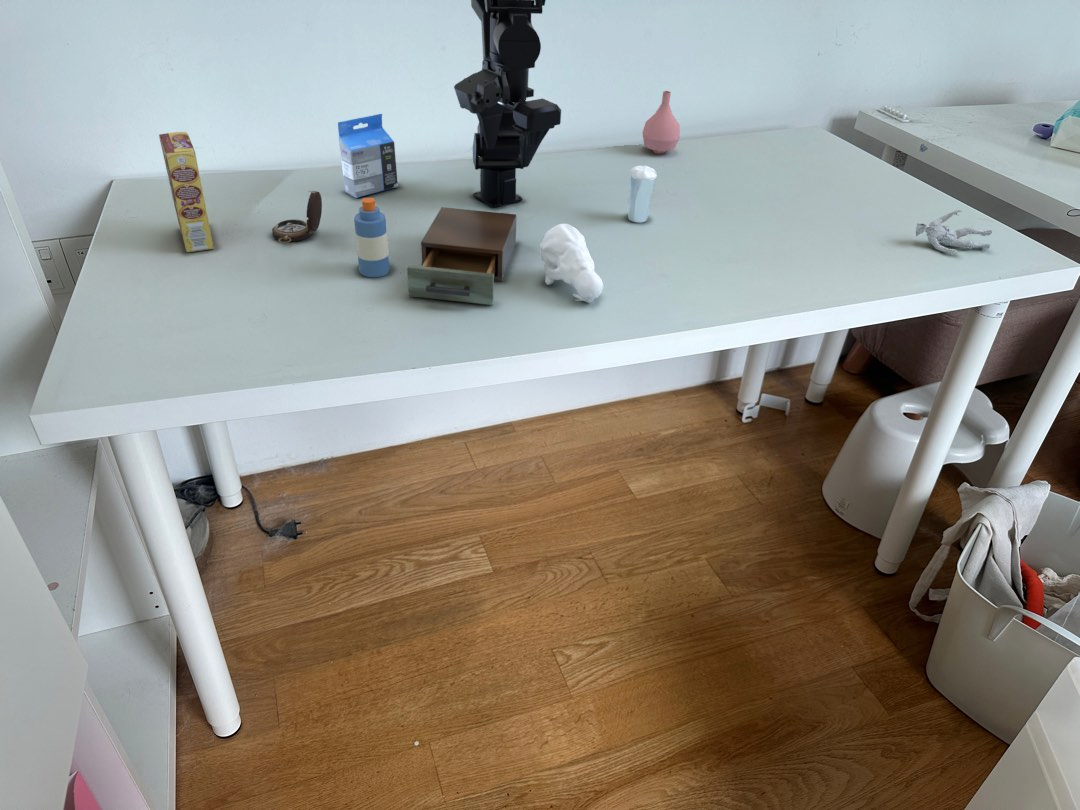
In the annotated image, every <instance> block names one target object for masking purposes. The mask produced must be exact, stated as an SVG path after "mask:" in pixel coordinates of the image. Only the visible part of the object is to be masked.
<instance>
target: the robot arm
mask: <svg viewBox="0 0 1080 810" xmlns="http://www.w3.org/2000/svg"><path fill="white" fill-rule="evenodd" d="M546 1H547V0H470V6H471V9H472V11H473V12H474V13H475V14H476V16H477V17H478V19H479V20H480V24H481V43H482V62H481V63H482V64H481V70H479V71H477V72H473V73H472V74H470V75H469V76H467V77H464V78H463V79H461V80H460V81H458V82H457V83H455V84H454V85H453V89H454V91H455V95H456V98H457V101H458V104H459V107H460V109H465V110H467V111H469V113H471V114H474V115H475V114H476V117H477V120H478V124H477V132H474V134H473V143H472V162H473V167H474V170H478V171H480V172H479V173H480V174H479V175H480V177H479V178H480V179H479V180H480V181H479V183H480V185H479V186H480V187H479V189H480V191H476V192H473V193H472V196H473V197H474V198H476V200H478V201H481V202H482V203H484V204H485V205H486V206H488V207H490V208H493V209H495V208H499V207H503V206H507V205H511V204H515V203H518V202H522V201H523V197H522V196H520V195H518V194H517V178H516V177H517V174H516V173H517V169H519V170H524V168H528V167H530V164H531V162H532V160H533V158H534V156H535V154H536V153H537V151H538V150H539V147H540V146H541V143H542V141H543V140H544V139H545V137H546V136H547V134H548V133H549V131H550V130H551V129H554V128H555V126H559V125H561V123H562V108H560V107H559V106H558V104H557V103H554V102H552V101H549V100H547V99H545V98H538V99H531V100H527V99H528V98H533V97H534V96H535V89H533V88H531V87H529V77H530V75H529V74H530V73H529V72H530V69H535V68H536V62H537V60H538V59H539V56H540V54H541V50H542V43H541V39H540V36H539V34H538V32H537V31H536V30H535V28H534V26H533V24H532V14H535V15H537V14H539V15H541V14H543V6H544V7H545V5H546Z"/></svg>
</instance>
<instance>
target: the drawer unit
mask: <svg viewBox="0 0 1080 810" xmlns="http://www.w3.org/2000/svg"><path fill="white" fill-rule="evenodd" d="M516 244H517V214H515V213H507V212H505V213H504V212H496V211H485V210H475V209H465V208H455V207H443V206H441V208H440V209H439V211H438V213H437V214H436V216H435V217H434V219H433V221H432V223H431V225H430V226H429V227H428V230H427V231H426V233H425V235H424V236H423V238H422V240H421V242H420V252H421V266H422V265H423V263H424V262H425V260H426V258H427V256H428V254H429V253H430V251H431V249H432V248H442V249H451V250H461V251H471V252H481V253H490V254H498V267H497V270H496V272H495V275H494V282H503V280H504V277H505V274H506V271H507V269H508V266H509V263H510V260H511V258H512V255H513V252H514V250H515V247H516Z"/></svg>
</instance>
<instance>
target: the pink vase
mask: <svg viewBox="0 0 1080 810" xmlns="http://www.w3.org/2000/svg"><path fill="white" fill-rule="evenodd" d="M671 94H672V91H670V90H663V91H662V98H661V104H660V105H659V107H658V108H657V110H656V111H655V113H654V114H652V116H651V117H650V118H649V119H647V120H646V121H645V123H644V127H643V129H642V140H643V146H644V147H645V148H647V149H650V150H652V151H653V153H654V154H658V155H659V154H660V155H662V154H665V152H669V151H673V150H675V149H676V147H677V145H678V144H679V143H678V142H679V140H680V138H681V129H680V127H681V126H680V124H679V122H678V121H677V119H676V118H675V116H674V115H673V113H672V112H673V111H672V109H671V105H670V101H671Z"/></svg>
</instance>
